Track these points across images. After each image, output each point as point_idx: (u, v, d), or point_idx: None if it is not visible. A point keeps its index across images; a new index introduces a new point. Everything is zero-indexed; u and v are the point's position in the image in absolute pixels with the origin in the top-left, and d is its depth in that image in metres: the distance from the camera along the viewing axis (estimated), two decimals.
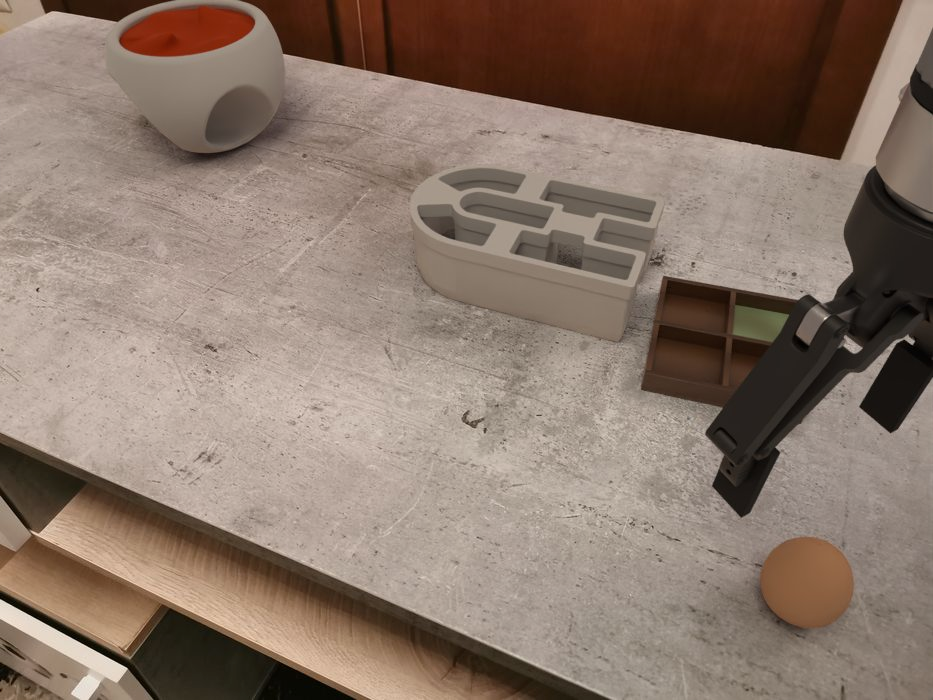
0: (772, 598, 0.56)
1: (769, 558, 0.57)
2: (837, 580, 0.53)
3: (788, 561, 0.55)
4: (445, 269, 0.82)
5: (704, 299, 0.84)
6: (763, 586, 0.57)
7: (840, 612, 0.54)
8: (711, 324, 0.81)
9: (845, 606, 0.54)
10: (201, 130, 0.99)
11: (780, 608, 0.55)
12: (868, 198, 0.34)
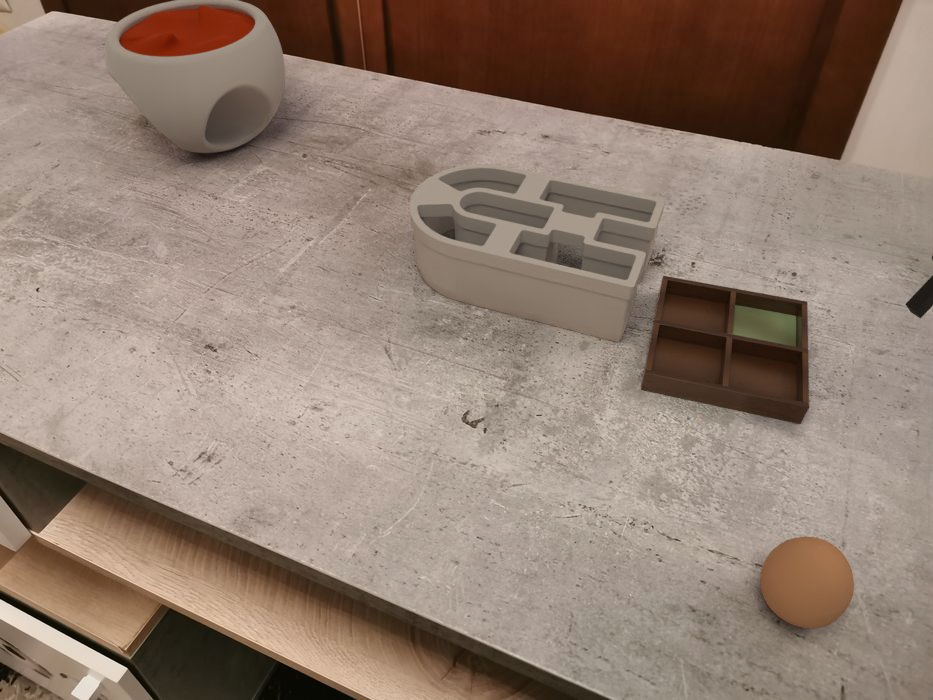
0: (772, 598, 0.56)
1: (769, 558, 0.57)
2: (837, 580, 0.53)
3: (788, 561, 0.55)
4: (445, 269, 0.82)
5: (704, 299, 0.84)
6: (763, 586, 0.57)
7: (840, 612, 0.54)
8: (711, 324, 0.81)
9: (845, 606, 0.54)
10: (201, 130, 0.99)
11: (780, 608, 0.55)
12: None
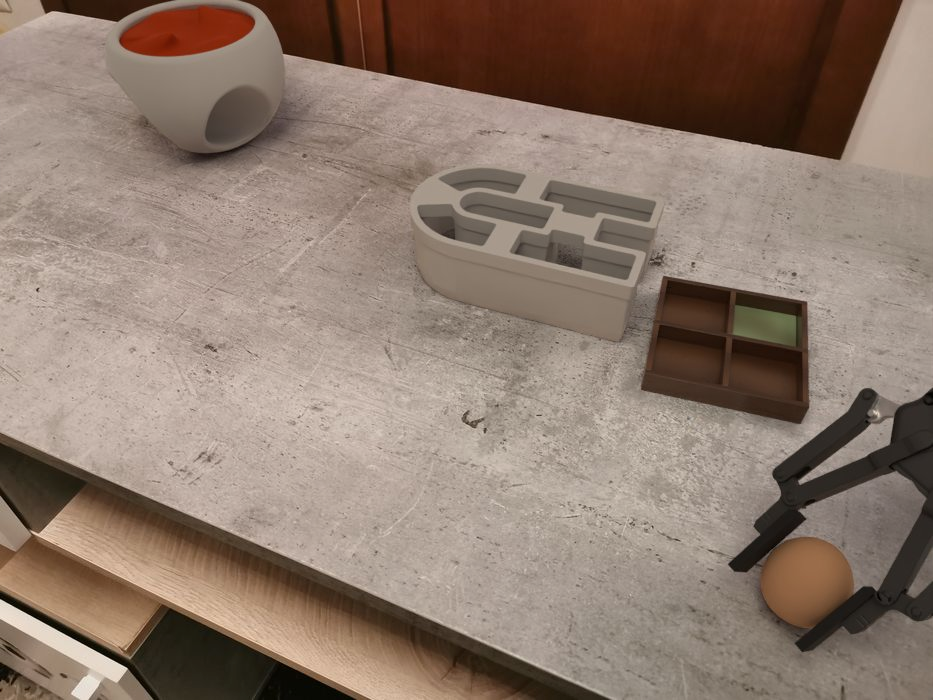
0: (772, 598, 0.56)
1: (769, 558, 0.57)
2: (837, 580, 0.53)
3: (788, 561, 0.55)
4: (445, 269, 0.82)
5: (704, 299, 0.84)
6: (763, 586, 0.57)
7: None
8: (711, 324, 0.81)
9: None
10: (201, 130, 0.99)
11: (780, 608, 0.55)
12: None
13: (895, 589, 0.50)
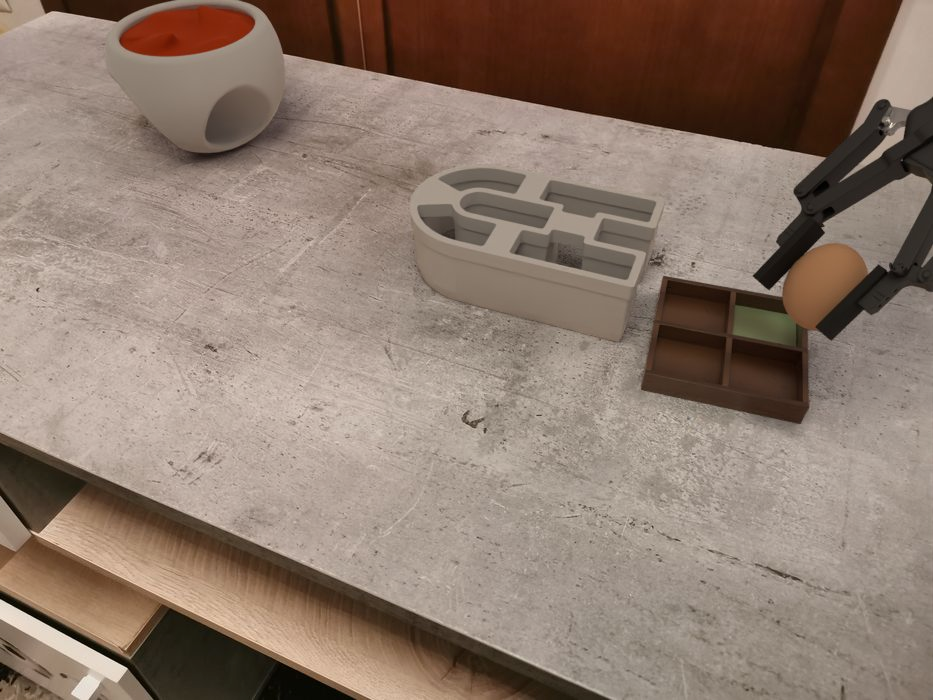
0: (794, 300, 0.61)
1: (791, 268, 0.62)
2: (854, 269, 0.58)
3: (809, 260, 0.60)
4: (445, 269, 0.82)
5: (704, 299, 0.84)
6: (785, 295, 0.62)
7: None
8: (711, 324, 0.81)
9: None
10: (201, 130, 0.99)
11: (801, 308, 0.60)
12: None
13: (907, 260, 0.55)
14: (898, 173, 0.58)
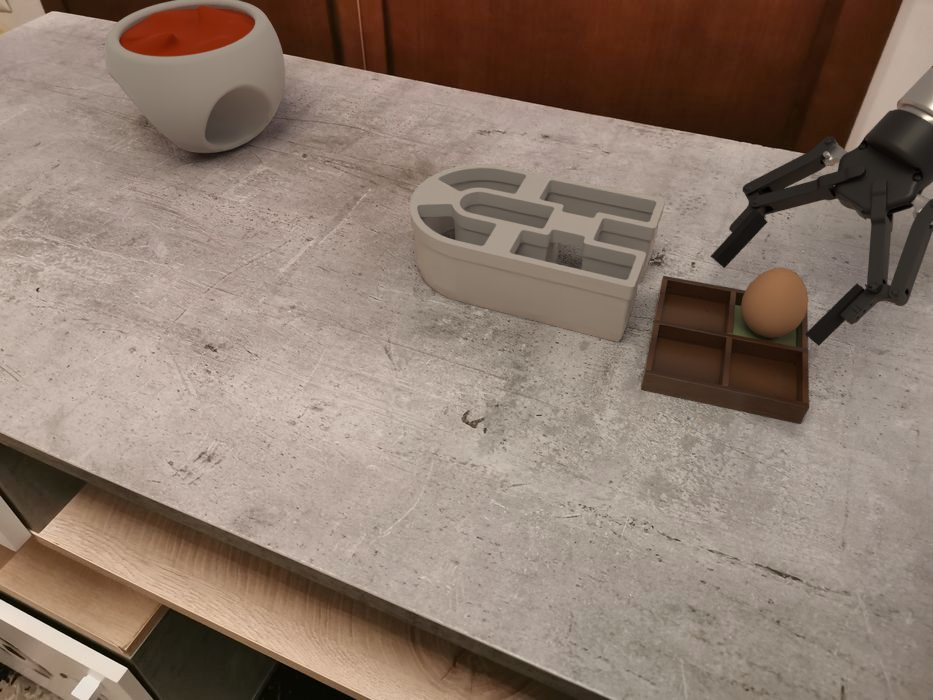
0: (749, 312, 0.76)
1: (747, 287, 0.77)
2: (794, 289, 0.73)
3: (760, 281, 0.75)
4: (445, 269, 0.82)
5: (704, 299, 0.84)
6: (743, 308, 0.78)
7: (797, 316, 0.75)
8: (711, 324, 0.81)
9: (801, 312, 0.75)
10: (201, 130, 0.99)
11: (755, 319, 0.76)
12: None
13: (877, 279, 0.67)
14: (827, 195, 0.74)
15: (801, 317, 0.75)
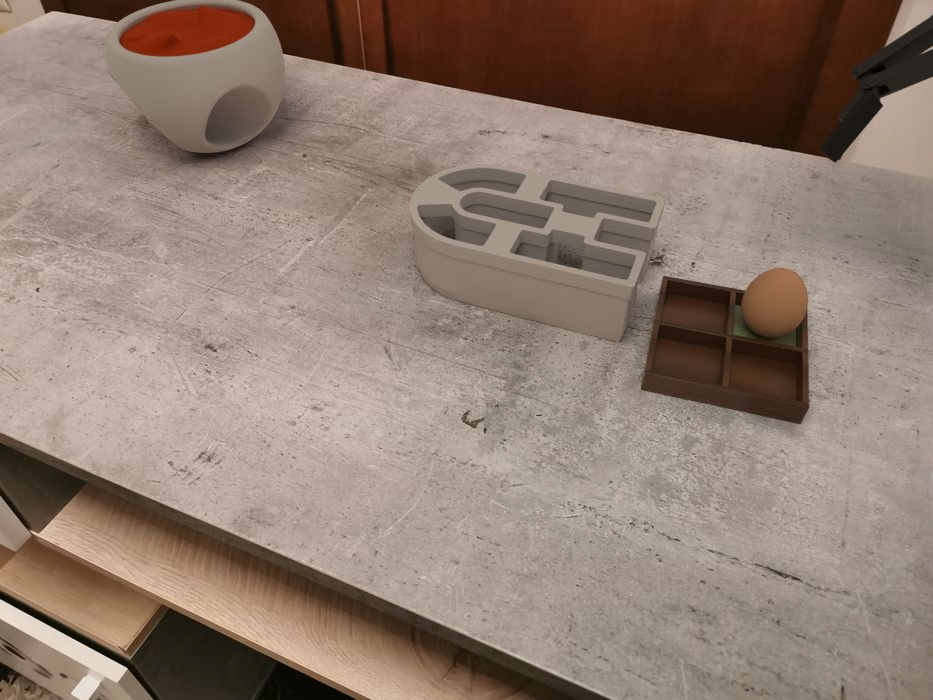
0: (749, 312, 0.76)
1: (747, 287, 0.77)
2: (794, 289, 0.73)
3: (760, 281, 0.75)
4: (445, 269, 0.82)
5: (704, 299, 0.84)
6: (743, 308, 0.78)
7: (797, 316, 0.75)
8: (711, 324, 0.81)
9: (801, 312, 0.75)
10: (201, 130, 0.99)
11: (755, 319, 0.76)
12: None
13: None
14: None
15: (801, 317, 0.75)
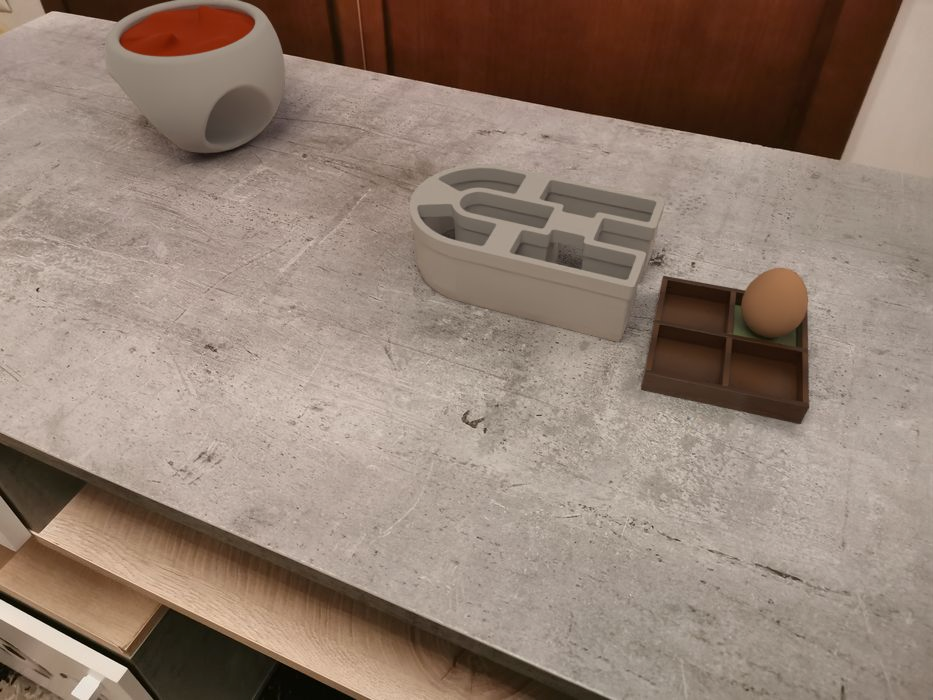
0: (749, 312, 0.76)
1: (747, 287, 0.77)
2: (794, 289, 0.73)
3: (760, 281, 0.75)
4: (445, 269, 0.82)
5: (704, 299, 0.84)
6: (743, 308, 0.78)
7: (797, 316, 0.75)
8: (711, 324, 0.81)
9: (801, 312, 0.75)
10: (201, 130, 0.99)
11: (755, 319, 0.76)
12: None
13: None
14: None
15: (801, 317, 0.75)
